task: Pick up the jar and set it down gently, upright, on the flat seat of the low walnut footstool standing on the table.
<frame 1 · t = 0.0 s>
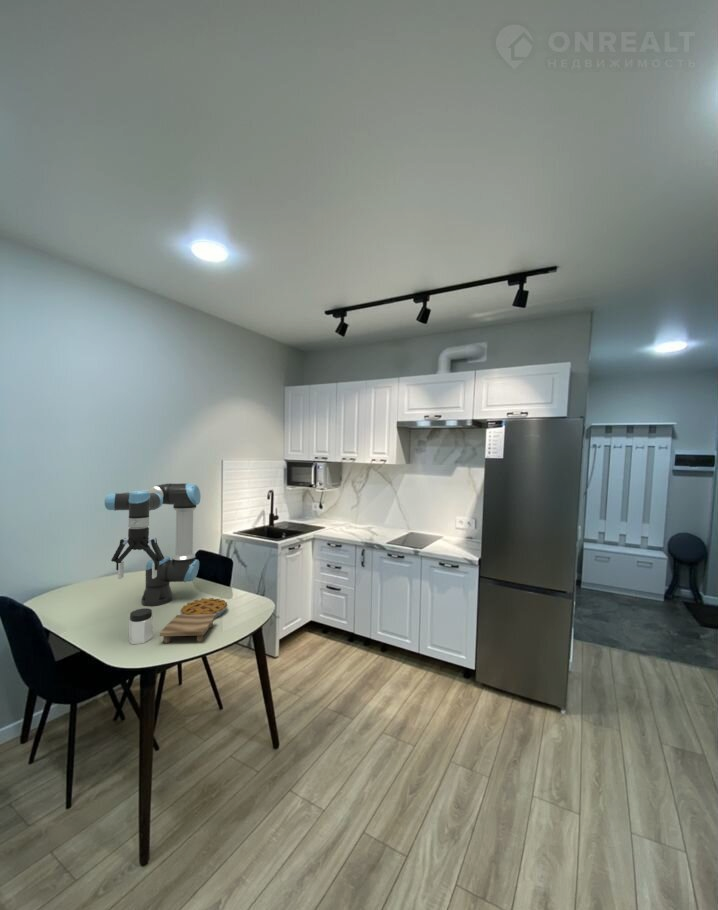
hand: (137, 577, 156), 28 cm above the table, fingers open, 13 cm apart
pie: (204, 614, 187), on the table
stool: (189, 634, 165), on the table
jar: (140, 640, 160), on the table
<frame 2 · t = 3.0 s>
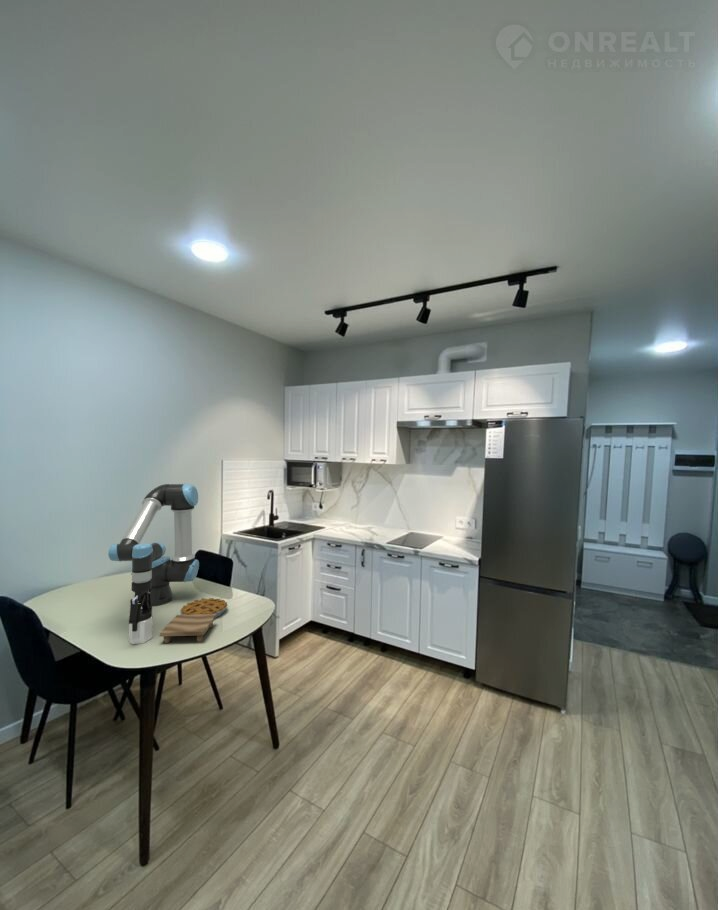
hand: (140, 633, 160), 3 cm above the table, fingers closed on jar, 8 cm apart
jar: (140, 640, 160), on the table, touching gripper
everything else where it was.
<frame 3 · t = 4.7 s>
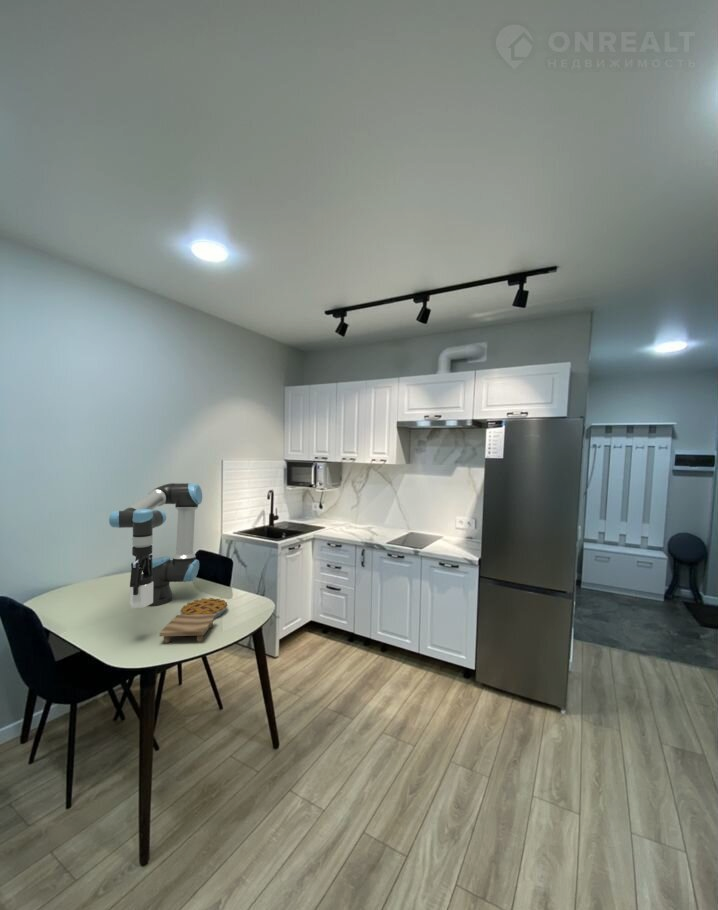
hand: (141, 597, 160), 18 cm above the table, fingers closed on jar, 8 cm apart
jar: (141, 604, 160), point 15 cm above the table, touching gripper
everything else where it was.
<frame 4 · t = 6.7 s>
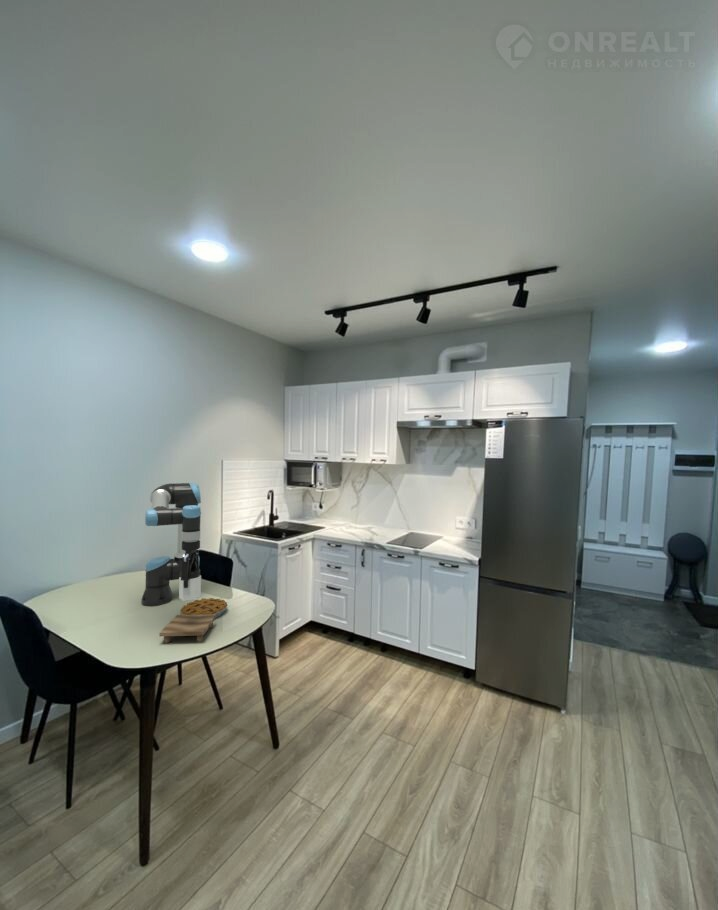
hand: (190, 591, 165), 19 cm above the table, fingers closed on jar, 8 cm apart
jar: (189, 597, 165), point 16 cm above the table, touching gripper
everything else where it was.
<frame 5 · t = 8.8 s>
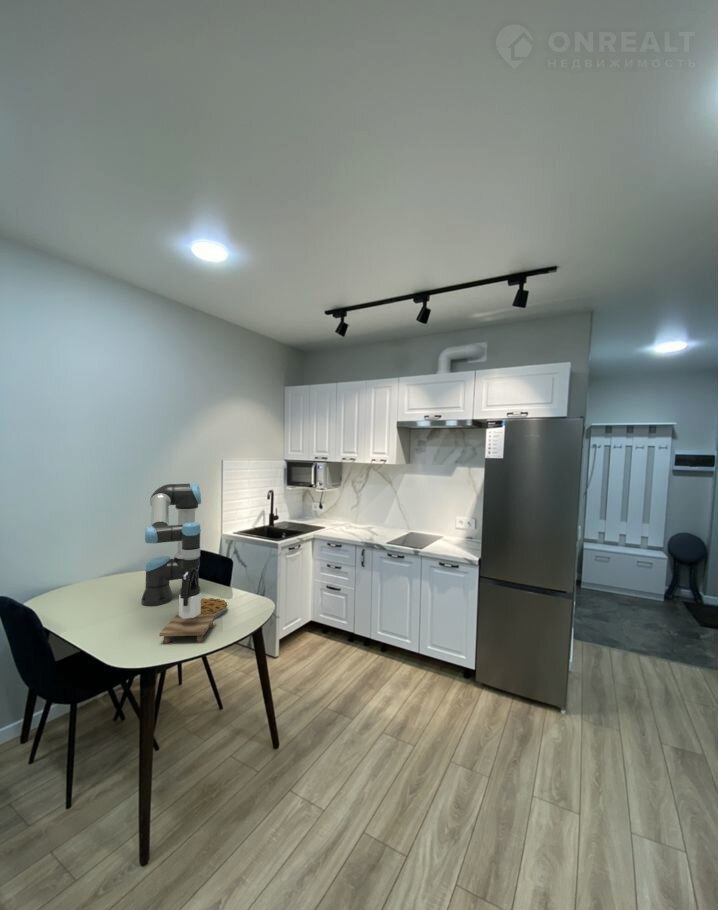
hand: (189, 608, 165), 11 cm above the table, fingers closed on jar, 8 cm apart
jar: (189, 615, 165), point 8 cm above the table, touching gripper
everything else where it was.
when the fingers open (11 cm above the table, at t = 10.3 s): jar drops 3 cm, resting on stool.
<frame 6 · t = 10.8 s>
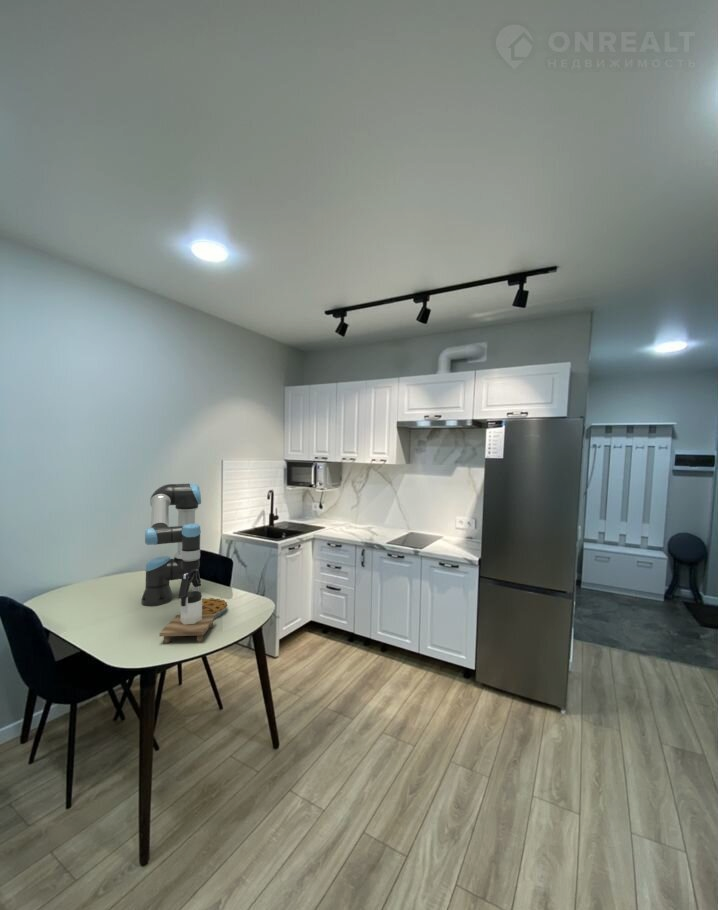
hand: (189, 606, 165), 12 cm above the table, fingers open, 13 cm apart
jar: (191, 621, 167), point 5 cm above the table, touching stool
everything else where it was.
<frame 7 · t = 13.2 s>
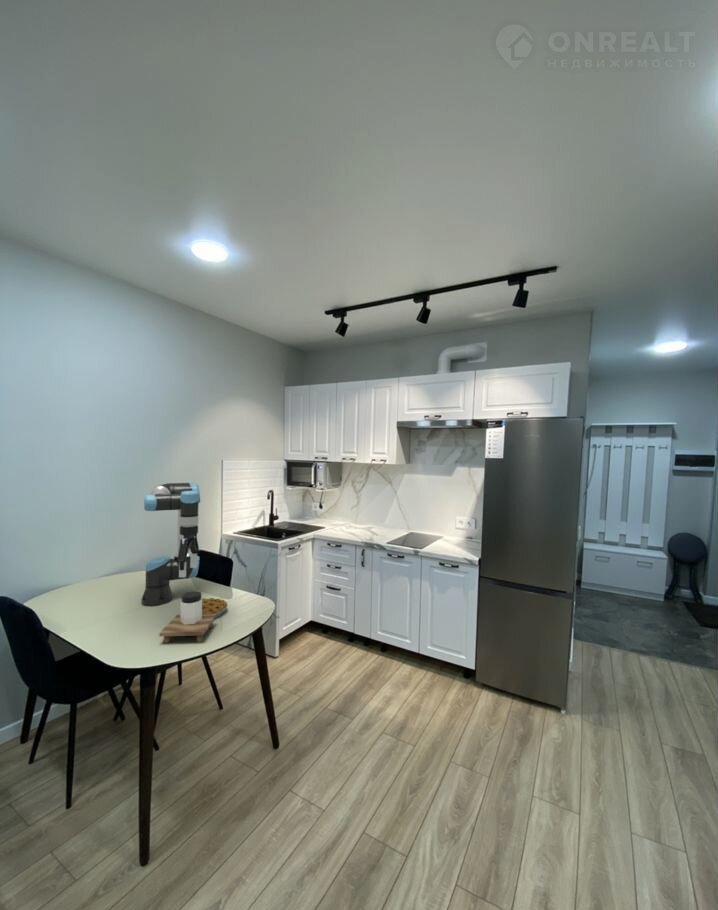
hand: (188, 572, 168), 27 cm above the table, fingers open, 13 cm apart
nothing on the table moved.
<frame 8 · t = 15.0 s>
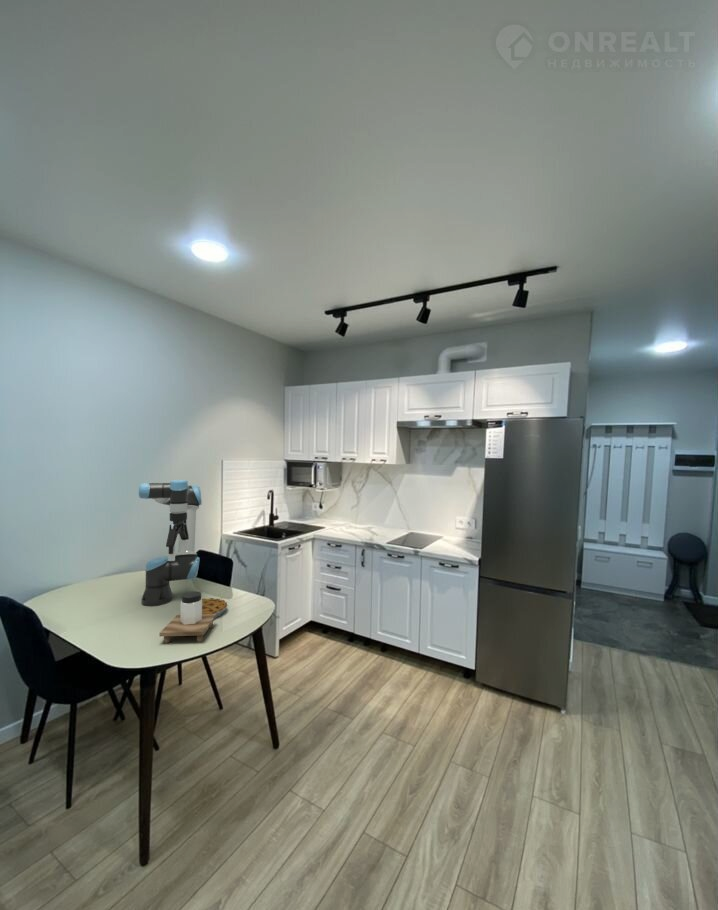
hand: (177, 556, 176), 32 cm above the table, fingers open, 13 cm apart
nothing on the table moved.
at the end: jar inside the target area on the stool (2.1 cm from its centre), point 4.8 cm above the stool's base; jar tilted 0°; the gripper is holding nothing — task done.
